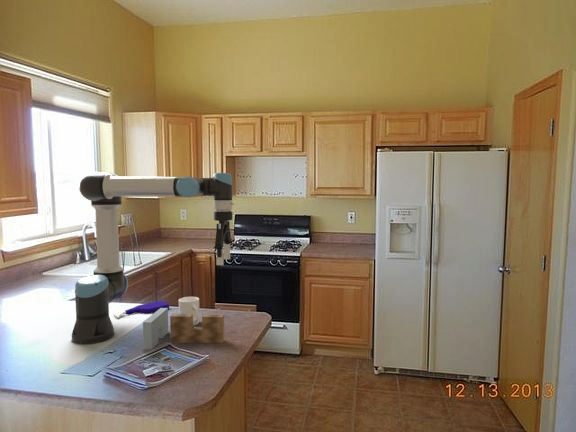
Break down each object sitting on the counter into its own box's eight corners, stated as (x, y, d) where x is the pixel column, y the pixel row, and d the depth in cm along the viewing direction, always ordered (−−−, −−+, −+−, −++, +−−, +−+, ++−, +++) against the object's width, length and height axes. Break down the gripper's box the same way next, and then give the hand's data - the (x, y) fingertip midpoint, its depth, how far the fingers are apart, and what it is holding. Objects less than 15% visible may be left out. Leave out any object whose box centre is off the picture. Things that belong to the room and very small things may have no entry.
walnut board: (170, 342, 159) (170, 316, 158) (173, 339, 162) (172, 313, 161) (222, 343, 158) (222, 317, 157) (224, 340, 161) (224, 314, 160)
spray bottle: (161, 299, 209) (110, 309, 193) (170, 304, 200) (118, 315, 185) (162, 305, 209) (111, 315, 193) (171, 310, 200) (118, 321, 185)
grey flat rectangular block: (143, 349, 152) (142, 322, 151) (161, 332, 169) (160, 307, 169) (151, 349, 151) (151, 322, 151) (168, 332, 169) (167, 308, 169)
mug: (188, 330, 172) (188, 304, 171) (175, 323, 181) (175, 298, 180) (207, 326, 177) (206, 301, 176) (193, 319, 186) (193, 295, 186)
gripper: (225, 212, 158) (226, 267, 160) (237, 209, 183) (238, 257, 185) (206, 212, 159) (207, 267, 160) (220, 209, 184) (221, 256, 185)
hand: (223, 262), depth 173 cm, fingers open, 13 cm apart
